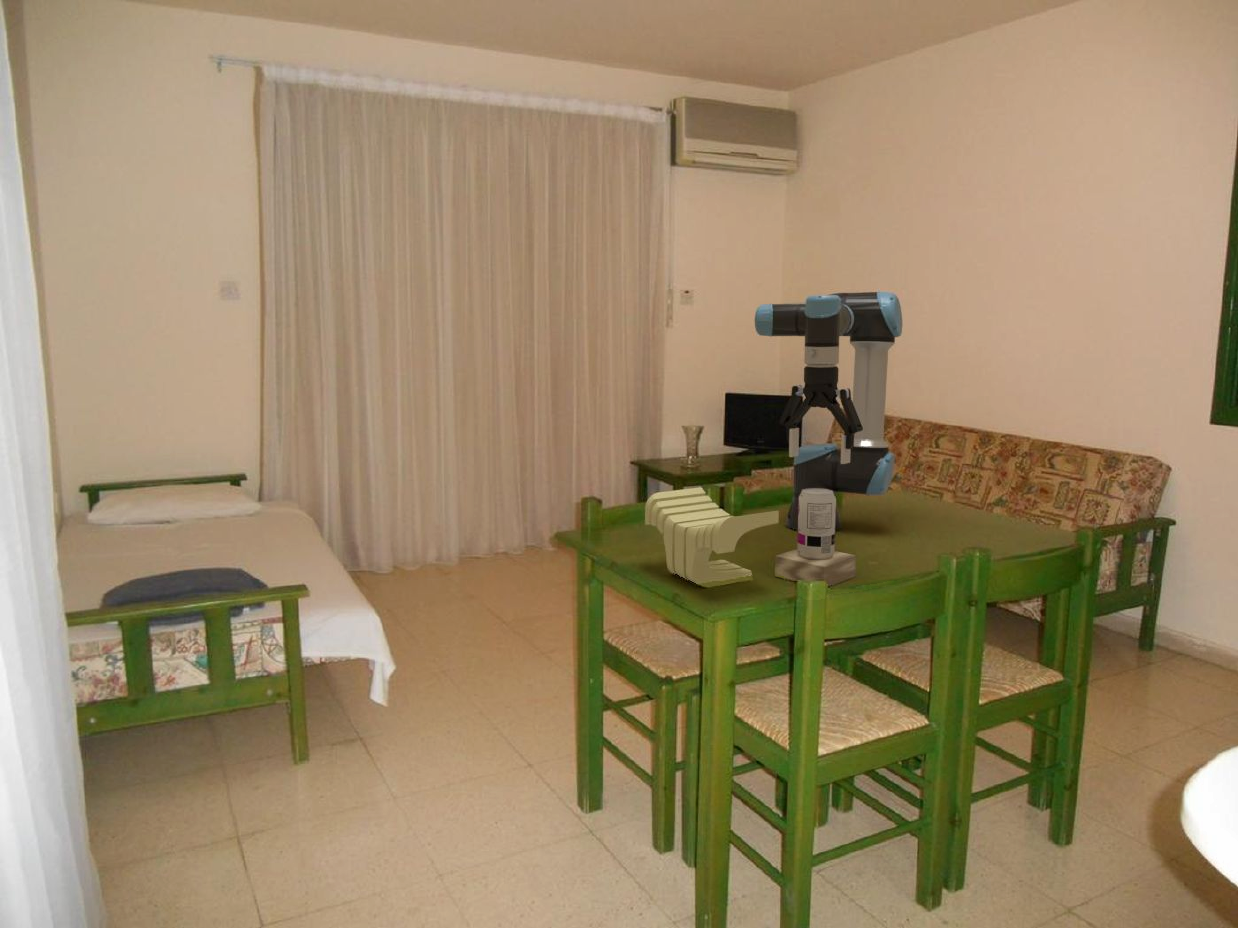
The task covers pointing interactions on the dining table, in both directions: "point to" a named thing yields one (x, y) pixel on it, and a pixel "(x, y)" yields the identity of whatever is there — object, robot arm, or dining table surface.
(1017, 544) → the dining table surface
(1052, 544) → the dining table surface
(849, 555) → the birch plinth
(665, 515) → the slatted curved stool
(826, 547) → the supplement can
